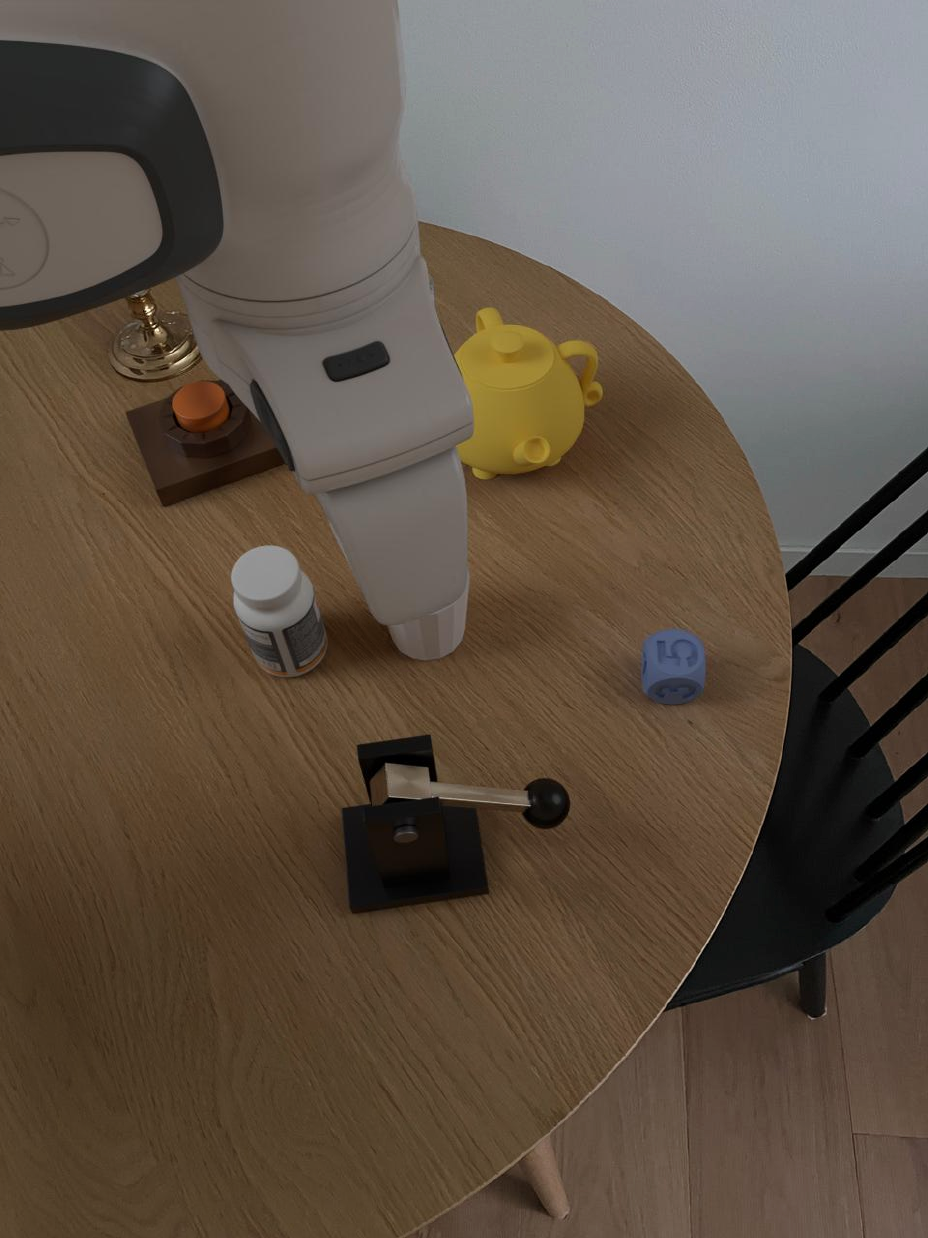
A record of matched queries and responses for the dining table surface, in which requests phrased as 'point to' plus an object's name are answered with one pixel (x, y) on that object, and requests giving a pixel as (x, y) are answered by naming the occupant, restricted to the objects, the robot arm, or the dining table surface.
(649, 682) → the decorative dice
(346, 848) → the black lever base
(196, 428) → the button
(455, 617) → the white faceted cylinder
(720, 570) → the dining table surface
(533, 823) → the silver lever with knob
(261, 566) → the pill bottle
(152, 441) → the button block
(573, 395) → the teapot
